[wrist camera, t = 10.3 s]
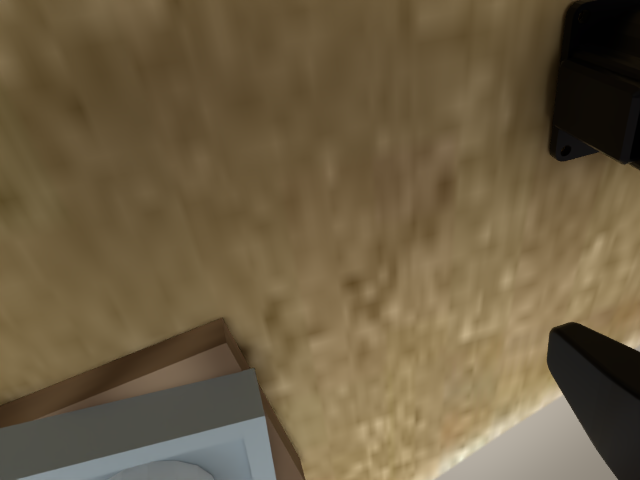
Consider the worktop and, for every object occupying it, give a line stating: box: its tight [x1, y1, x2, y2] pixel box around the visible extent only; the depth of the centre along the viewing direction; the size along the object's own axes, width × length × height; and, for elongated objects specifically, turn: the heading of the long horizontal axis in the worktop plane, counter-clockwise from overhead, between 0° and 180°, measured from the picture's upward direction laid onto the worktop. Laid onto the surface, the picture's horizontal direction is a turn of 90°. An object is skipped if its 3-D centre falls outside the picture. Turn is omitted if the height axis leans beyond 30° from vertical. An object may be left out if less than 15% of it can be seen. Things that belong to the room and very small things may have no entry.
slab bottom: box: [0, 318, 305, 480], centre depth 26 cm, size 12×12×2 cm
